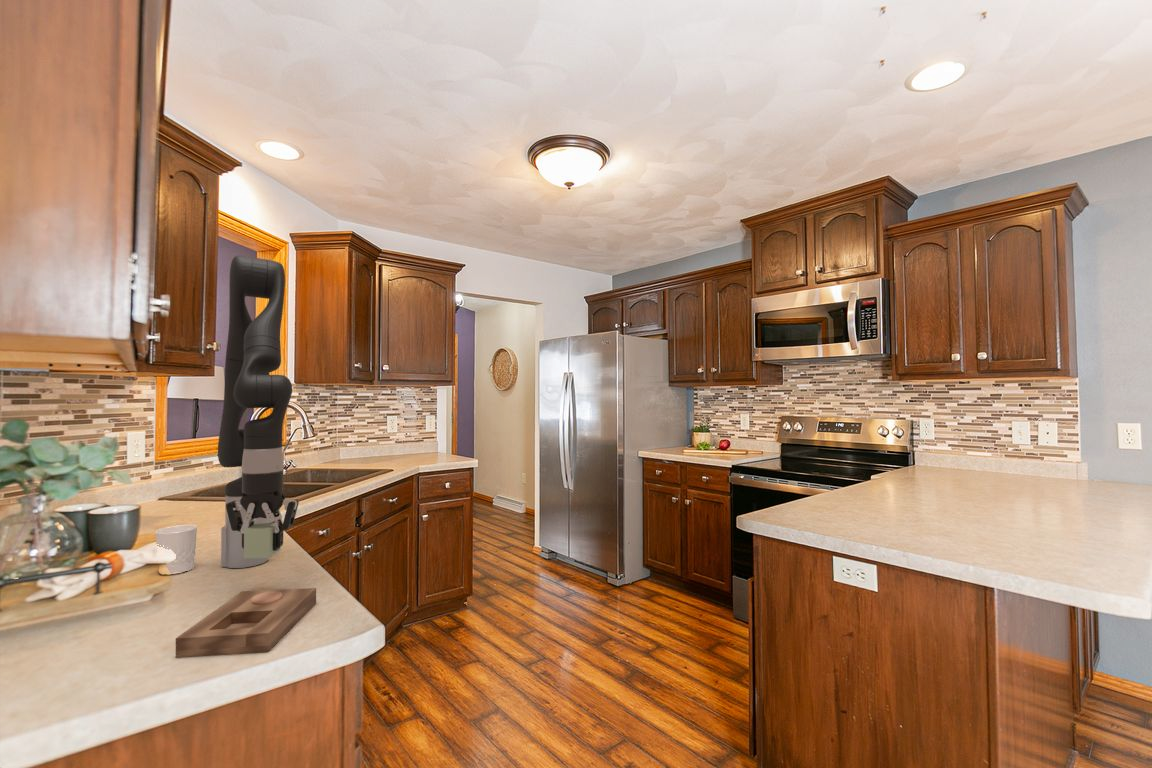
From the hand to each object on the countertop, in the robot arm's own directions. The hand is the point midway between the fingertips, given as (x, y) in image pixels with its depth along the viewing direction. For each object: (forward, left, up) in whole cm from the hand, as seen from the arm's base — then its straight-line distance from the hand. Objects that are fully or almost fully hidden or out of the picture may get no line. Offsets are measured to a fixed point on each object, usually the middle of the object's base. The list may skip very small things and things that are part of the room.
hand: (262, 549), depth 111 cm
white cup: (-28, +18, -9) cm, 34 cm away
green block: (0, 0, -1) cm, 1 cm away
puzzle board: (+6, -17, -9) cm, 20 cm away
